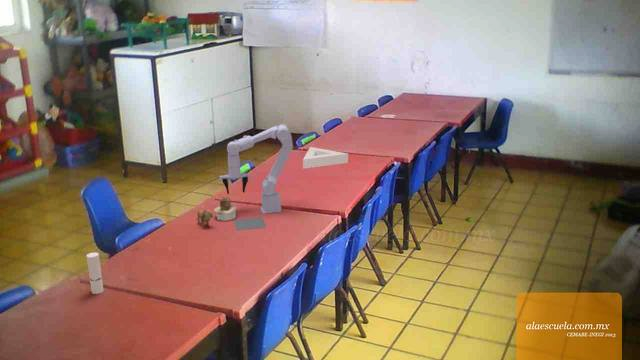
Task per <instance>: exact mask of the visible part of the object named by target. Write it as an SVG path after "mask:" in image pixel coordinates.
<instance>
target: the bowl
mask: <svg viewBox="0 0 640 360" xmlns="http://www.w3.org/2000/svg"><path fill="white" fill-rule="evenodd" d="M236 212H237V211H236ZM236 212H234V213H230V214H218V213H215V214H216V219H217V220H218V221H222V222H224V221H225V222H226V221H232V220H235V219H236V218H237V215H236Z"/></svg>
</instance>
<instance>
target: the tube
mask: <svg viewBox="0 0 640 360" xmlns="http://www.w3.org/2000/svg"><path fill="white" fill-rule="evenodd" d="M86 263H87V269H88V270H87V271H88V274H89V283H90V289H91V294H94V295H98V294H99V295H100V294H102V293H103V292H104V283H103V278H102V268H101V261H100V254H99V252H90V253H87V254H86Z"/></svg>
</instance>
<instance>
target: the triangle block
mask: <svg viewBox="0 0 640 360" xmlns="http://www.w3.org/2000/svg"><path fill="white" fill-rule="evenodd" d="M340 164H349V153H347V152H346V153H345V152H340V151H335V150H330V149H324V148H320V147H319V148H318V147H313V146H310V147H309V149H308V150H307V151H306V154H305V155H304V157H303V159H302V169H304V170H305V169H310V168H311V167H312V168H319V167H325V166H333V165H340Z"/></svg>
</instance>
